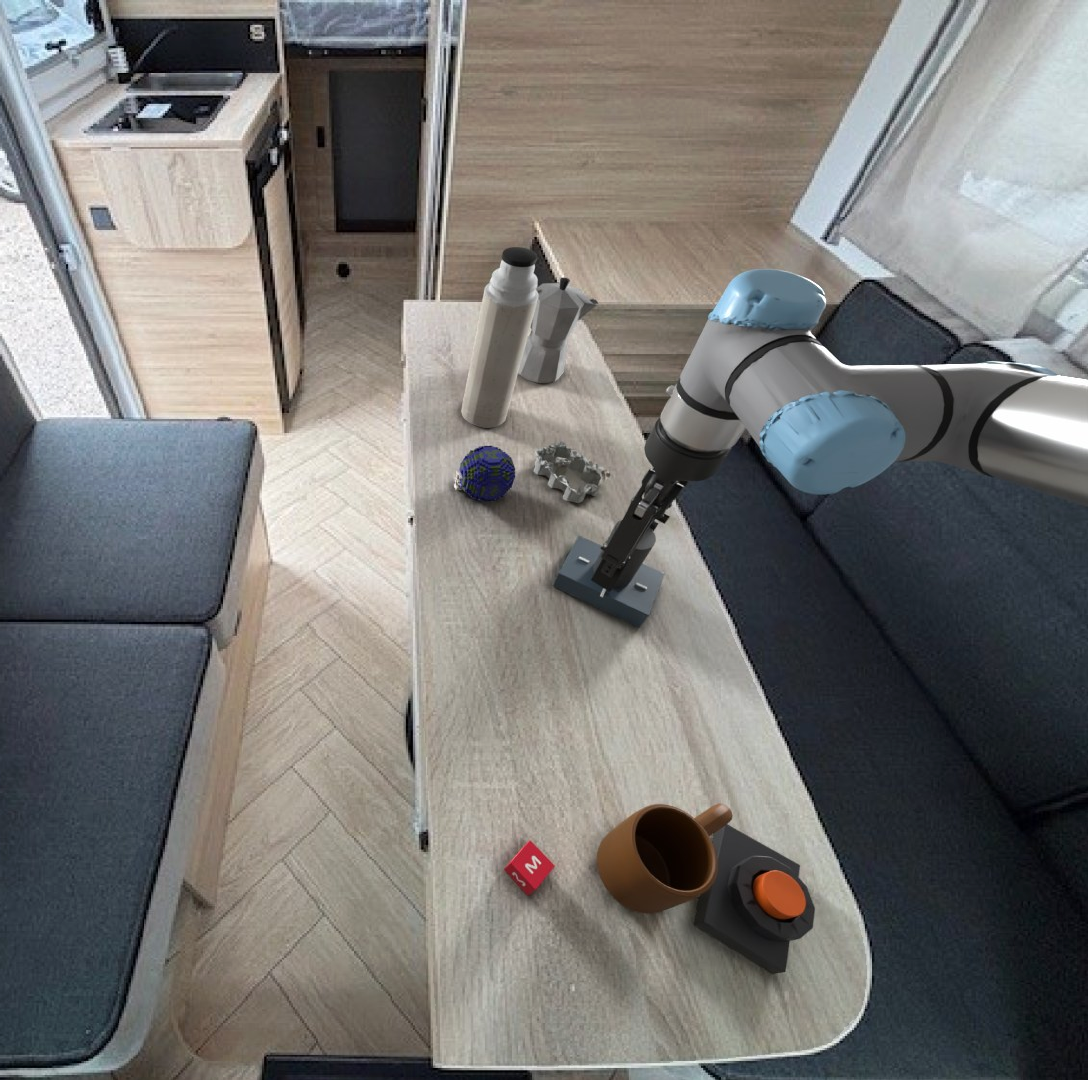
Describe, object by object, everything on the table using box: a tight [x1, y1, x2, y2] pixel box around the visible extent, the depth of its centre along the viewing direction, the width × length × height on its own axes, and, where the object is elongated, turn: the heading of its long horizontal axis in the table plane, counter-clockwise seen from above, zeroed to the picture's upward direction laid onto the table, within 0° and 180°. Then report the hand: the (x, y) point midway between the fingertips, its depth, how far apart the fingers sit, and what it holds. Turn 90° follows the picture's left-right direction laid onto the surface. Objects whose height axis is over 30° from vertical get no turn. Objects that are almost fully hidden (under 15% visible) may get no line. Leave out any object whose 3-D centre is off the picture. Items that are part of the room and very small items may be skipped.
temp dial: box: [593, 519, 657, 588], centre depth 75 cm, size 5×5×8 cm
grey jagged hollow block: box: [533, 441, 611, 504], centre depth 92 cm, size 11×8×4 cm
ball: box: [453, 445, 516, 502], centre depth 89 cm, size 8×8×8 cm
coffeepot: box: [518, 276, 599, 384], centre depth 107 cm, size 15×9×18 cm, turn 75°
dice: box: [503, 839, 556, 896], centre depth 57 cm, size 3×3×3 cm
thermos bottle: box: [461, 246, 539, 429], centre depth 94 cm, size 8×8×28 cm
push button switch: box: [692, 823, 816, 975], centre depth 55 cm, size 8×10×4 cm
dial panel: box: [552, 534, 666, 629], centre depth 79 cm, size 12×9×3 cm
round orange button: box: [753, 871, 806, 919], centre depth 53 cm, size 4×4×2 cm
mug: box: [596, 803, 734, 915], centre depth 55 cm, size 12×8×9 cm, turn 118°
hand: (615, 567), depth 77 cm, fingers open, 7 cm apart
